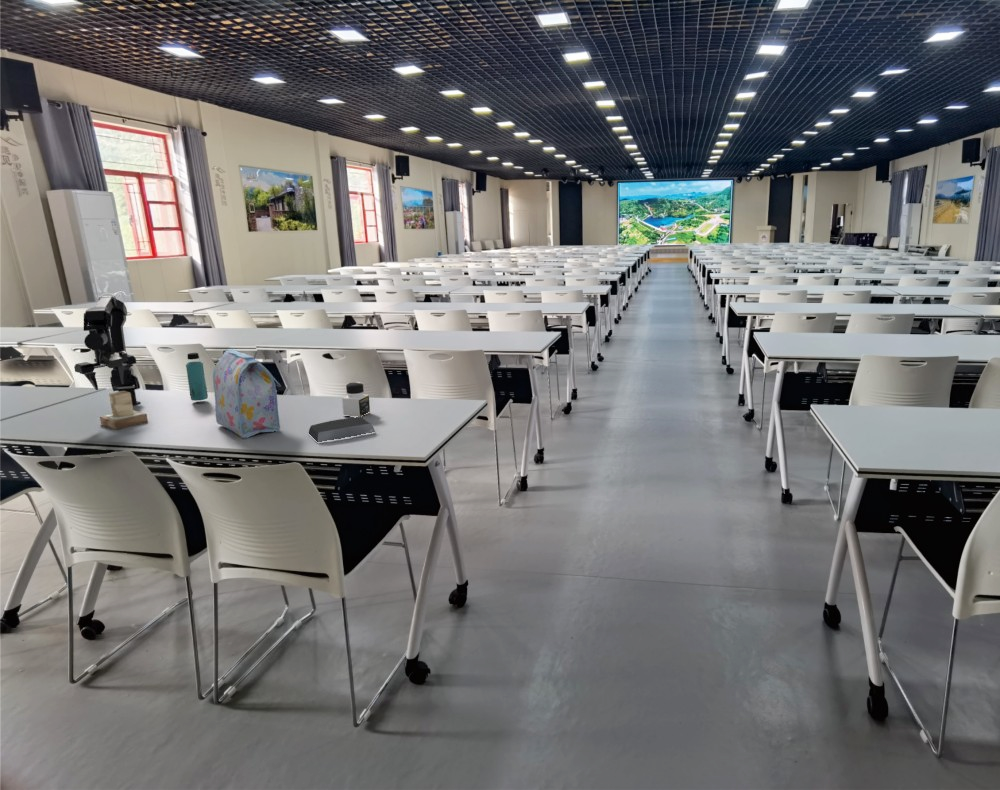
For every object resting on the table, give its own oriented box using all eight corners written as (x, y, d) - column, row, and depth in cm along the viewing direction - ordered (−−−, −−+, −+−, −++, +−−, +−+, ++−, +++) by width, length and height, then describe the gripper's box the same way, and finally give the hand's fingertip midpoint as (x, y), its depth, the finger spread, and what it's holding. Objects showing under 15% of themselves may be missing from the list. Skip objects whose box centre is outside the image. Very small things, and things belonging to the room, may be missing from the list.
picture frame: (101, 424, 232) (99, 416, 232) (132, 417, 241) (131, 408, 240) (116, 429, 226) (114, 420, 225) (147, 421, 235) (146, 413, 234)
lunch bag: (289, 429, 223) (281, 353, 216) (241, 441, 211) (231, 361, 205) (260, 417, 238) (252, 345, 232) (213, 427, 227) (203, 352, 220)
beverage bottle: (211, 400, 263) (205, 351, 258) (203, 404, 257) (196, 354, 252) (196, 400, 264) (189, 351, 259) (187, 404, 257) (180, 354, 252)
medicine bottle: (360, 418, 234) (358, 386, 231) (343, 416, 236) (340, 384, 233) (370, 413, 241) (368, 381, 238) (353, 411, 243) (351, 380, 240)
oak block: (112, 415, 232) (108, 393, 230) (127, 412, 236) (123, 390, 234) (119, 417, 230) (115, 395, 228) (133, 414, 233) (130, 392, 231)
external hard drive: (376, 435, 216) (375, 423, 215) (318, 446, 207) (317, 433, 206) (363, 425, 227) (362, 414, 226) (307, 435, 217) (306, 423, 216)
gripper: (85, 351, 219) (93, 396, 223) (140, 342, 233) (147, 384, 238) (69, 348, 225) (78, 391, 229) (124, 339, 239) (132, 380, 244)
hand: (110, 387), depth 235 cm, fingers open, 9 cm apart
